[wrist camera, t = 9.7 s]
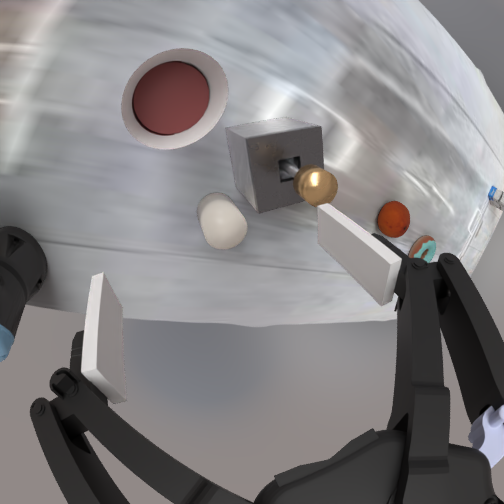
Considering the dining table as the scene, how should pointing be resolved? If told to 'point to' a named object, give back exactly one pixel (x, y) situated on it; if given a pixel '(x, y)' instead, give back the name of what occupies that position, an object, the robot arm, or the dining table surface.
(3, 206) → the dining table surface
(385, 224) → the fruit
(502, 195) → the ink box
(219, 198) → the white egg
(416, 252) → the donut
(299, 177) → the gold knobbed rod
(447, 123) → the dining table surface
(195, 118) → the wineglass
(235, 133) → the grey block with hole
